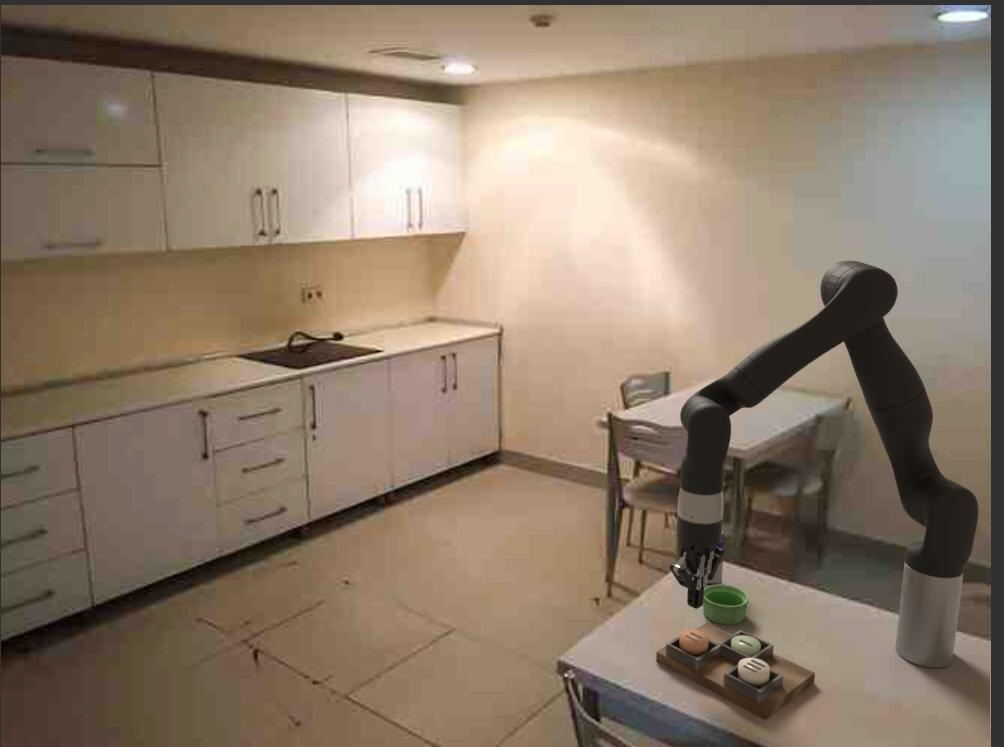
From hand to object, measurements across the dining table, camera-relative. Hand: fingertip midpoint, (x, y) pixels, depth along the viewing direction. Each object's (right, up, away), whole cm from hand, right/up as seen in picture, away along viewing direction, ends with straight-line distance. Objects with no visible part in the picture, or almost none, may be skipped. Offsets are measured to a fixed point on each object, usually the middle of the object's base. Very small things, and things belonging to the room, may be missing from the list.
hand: (695, 605), depth 141 cm
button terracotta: (0, -8, +2) cm, 8 cm away
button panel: (+7, -12, 0) cm, 14 cm away
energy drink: (+11, -5, +33) cm, 35 cm away
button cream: (+8, -10, -7) cm, 14 cm away
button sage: (+9, -9, +2) cm, 13 cm away
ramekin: (+10, -8, +20) cm, 23 cm away
